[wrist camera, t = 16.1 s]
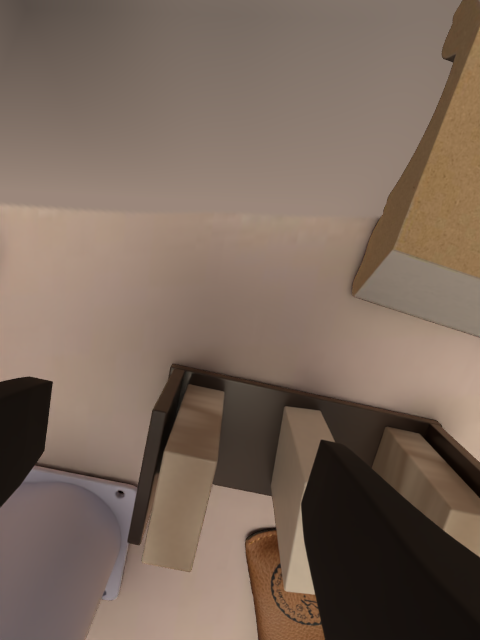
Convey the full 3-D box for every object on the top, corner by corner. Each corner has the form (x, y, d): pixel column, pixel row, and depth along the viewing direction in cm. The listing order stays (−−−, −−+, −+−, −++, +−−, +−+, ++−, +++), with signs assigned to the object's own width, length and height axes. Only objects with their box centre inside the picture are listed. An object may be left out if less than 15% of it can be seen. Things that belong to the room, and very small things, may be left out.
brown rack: (151, 465, 21) (109, 573, 14) (172, 363, 20) (137, 427, 13) (402, 516, 22) (475, 641, 15) (437, 420, 21) (536, 510, 14)
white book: (270, 486, 21) (283, 592, 15) (284, 405, 20) (304, 481, 14) (305, 490, 21) (333, 598, 15) (320, 409, 20) (358, 488, 14)
